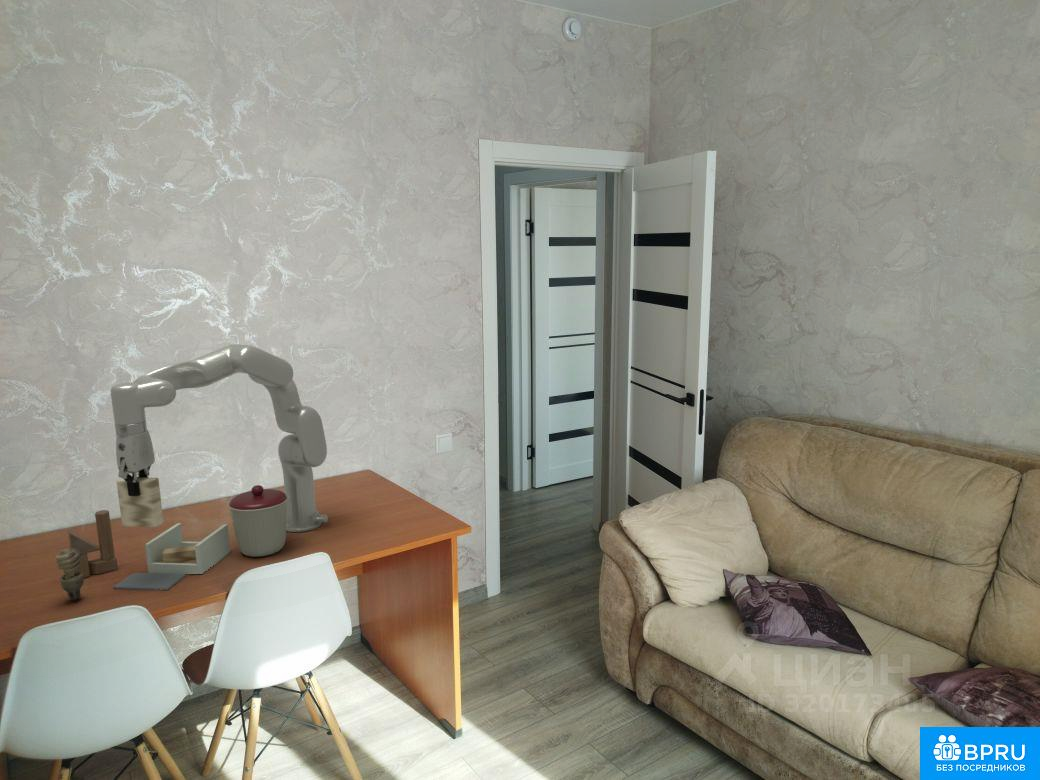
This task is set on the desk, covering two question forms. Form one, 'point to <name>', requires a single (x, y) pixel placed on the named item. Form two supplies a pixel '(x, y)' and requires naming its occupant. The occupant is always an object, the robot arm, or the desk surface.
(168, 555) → the oak offcut
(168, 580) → the slate pad
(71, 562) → the light bulb
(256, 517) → the canister
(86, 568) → the brown wooden angled piece
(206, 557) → the tray
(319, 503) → the desk surface
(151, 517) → the birch block
